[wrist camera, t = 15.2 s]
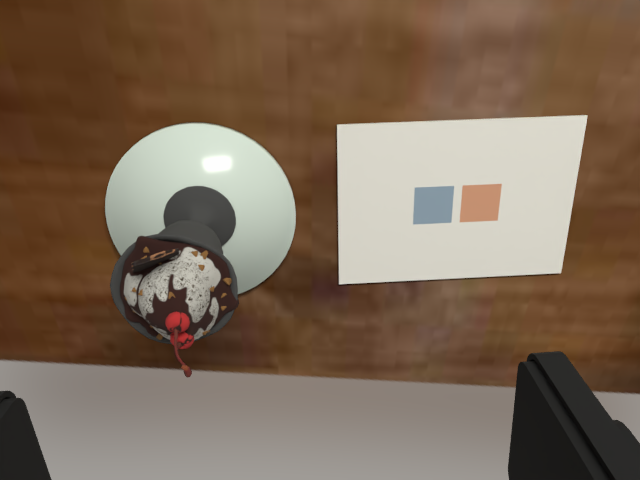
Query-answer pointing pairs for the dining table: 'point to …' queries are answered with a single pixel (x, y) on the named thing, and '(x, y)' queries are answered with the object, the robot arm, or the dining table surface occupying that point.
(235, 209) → the plate
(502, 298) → the dining table surface
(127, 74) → the dining table surface
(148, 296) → the sundae
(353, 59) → the dining table surface
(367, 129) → the tile
